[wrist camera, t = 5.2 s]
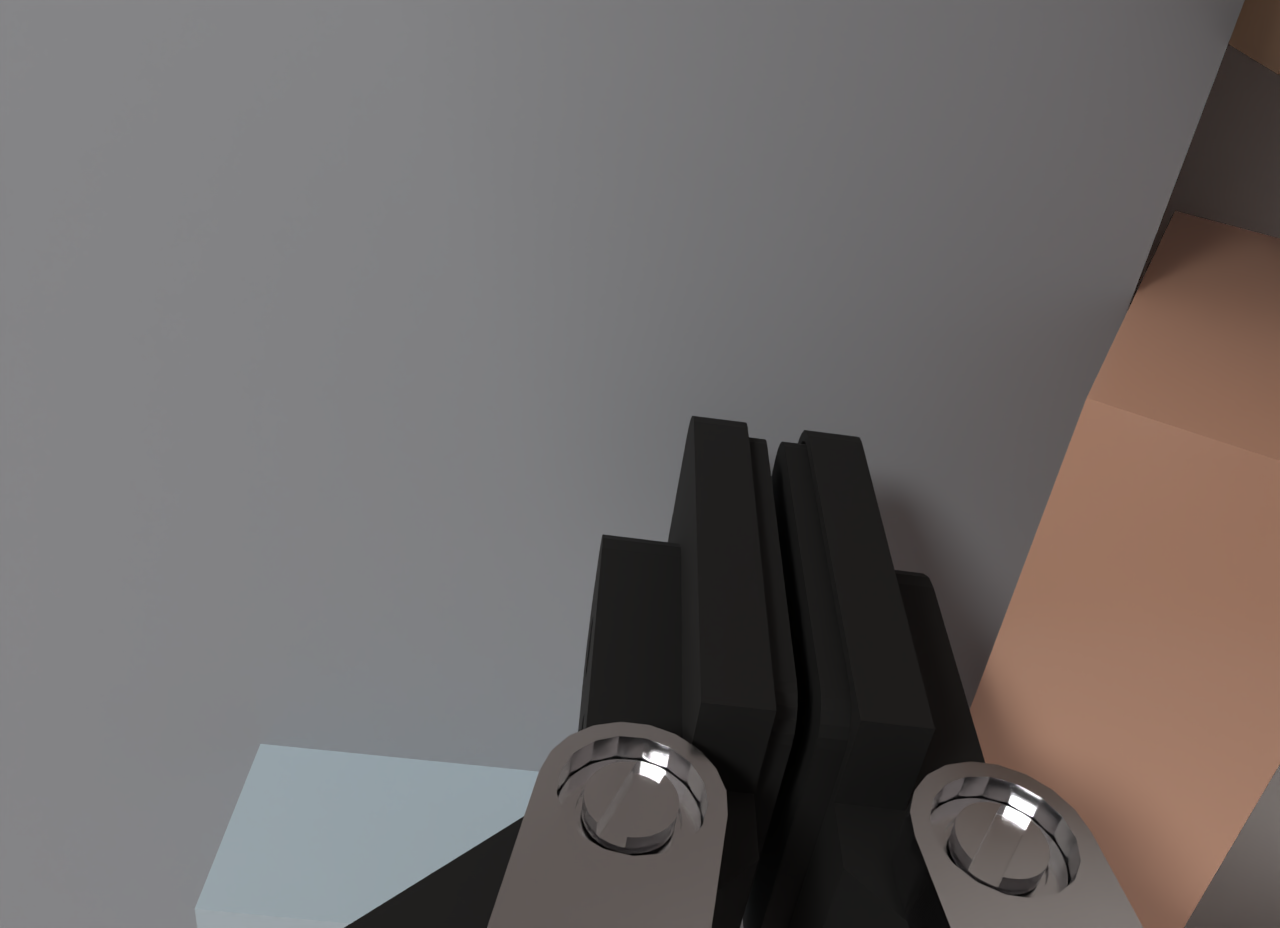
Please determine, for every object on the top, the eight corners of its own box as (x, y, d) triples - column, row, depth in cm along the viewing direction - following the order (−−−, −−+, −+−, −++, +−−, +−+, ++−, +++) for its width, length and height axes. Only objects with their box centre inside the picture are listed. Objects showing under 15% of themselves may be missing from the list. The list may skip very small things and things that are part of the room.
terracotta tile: (1086, 398, 9) (1428, 510, 9) (1174, 210, 14) (1403, 271, 13) (904, 881, 13) (1142, 999, 12) (1026, 598, 17) (1201, 668, 16)
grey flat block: (-153, -255, 13) (-447, -241, 9) (1106, -87, 13) (1250, -17, 10) (91, 870, 23) (-10, 1069, 20) (793, 937, 24) (812, 1140, 20)
